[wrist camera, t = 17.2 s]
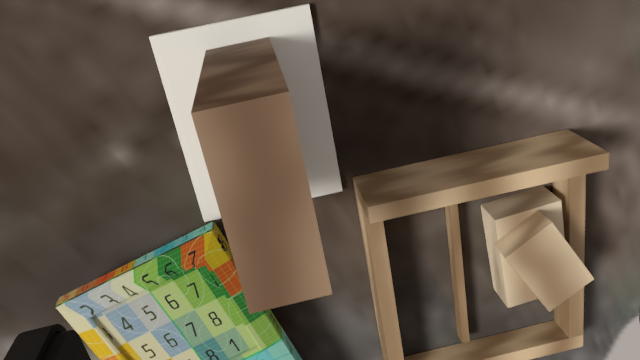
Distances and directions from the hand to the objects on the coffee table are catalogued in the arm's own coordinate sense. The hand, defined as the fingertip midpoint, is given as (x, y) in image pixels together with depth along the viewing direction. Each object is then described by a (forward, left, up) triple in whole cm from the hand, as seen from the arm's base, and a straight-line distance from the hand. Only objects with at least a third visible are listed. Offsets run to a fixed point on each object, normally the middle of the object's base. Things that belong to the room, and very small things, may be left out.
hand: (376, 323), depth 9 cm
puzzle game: (+9, +22, -30) cm, 38 cm away
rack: (-12, +20, -29) cm, 37 cm away
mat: (+2, +5, -29) cm, 30 cm away
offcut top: (-16, +19, -27) cm, 37 cm away
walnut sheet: (+2, +5, -29) cm, 29 cm away
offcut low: (-16, +19, -30) cm, 39 cm away
